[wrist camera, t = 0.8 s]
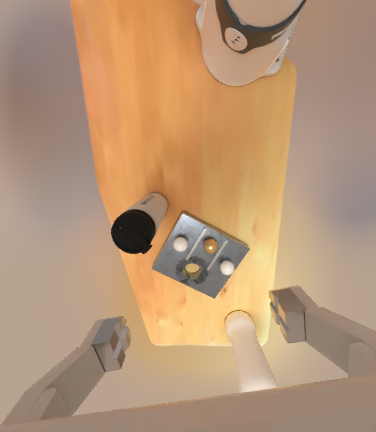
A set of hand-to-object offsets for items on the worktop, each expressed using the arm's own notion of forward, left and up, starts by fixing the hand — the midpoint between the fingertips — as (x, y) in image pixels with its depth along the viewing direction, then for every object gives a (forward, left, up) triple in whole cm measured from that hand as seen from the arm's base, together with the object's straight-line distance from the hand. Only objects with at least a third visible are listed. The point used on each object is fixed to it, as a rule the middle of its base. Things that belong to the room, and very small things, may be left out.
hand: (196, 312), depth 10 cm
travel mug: (+6, -7, -36) cm, 37 cm away
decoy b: (+10, +3, -31) cm, 33 cm away
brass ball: (+7, +9, -31) cm, 34 cm away
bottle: (+26, +30, -36) cm, 54 cm away
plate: (+12, +9, -36) cm, 39 cm away
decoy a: (+10, +16, -31) cm, 37 cm away
